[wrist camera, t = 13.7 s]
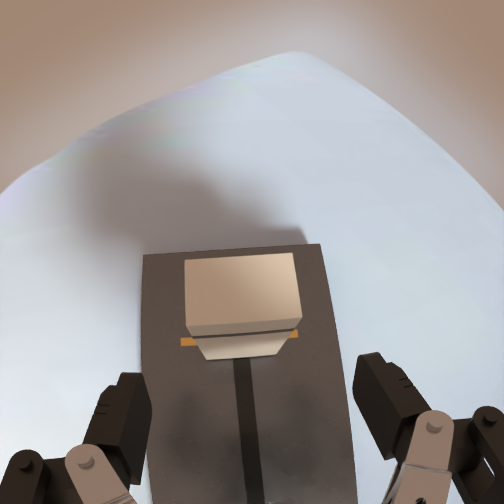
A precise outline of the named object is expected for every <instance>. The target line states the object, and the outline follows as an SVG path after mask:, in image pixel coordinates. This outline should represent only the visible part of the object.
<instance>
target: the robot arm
mask: <svg viewBox="0 0 504 504" xmlns="http://www.w3.org/2000/svg"><path fill="white" fill-rule="evenodd" d="M352 390H353V397H354V400H355V402H356V404H357V406H358V408H359V410H360V412H361V414H362V416H363V418H364V420H365V422H366V424H367V426H368V428H369V430H370V432H371V434H372V436H373V438H374V440H375V442H376V444H377V446H378V448H379V450H380V452H381V454H382V456H383V458H384V460H388V459H392V458H396V460H397V465H396V467H395V470H394V472H393V475H392V478H391V481H390V483H389V486H388V489H387V491H386V494H385V497H384V499H383V502H382V504H446V501H447V497H448V492H449V487H450V482H451V478H452V480H453V482H454V484H455V486H456V488H457V490H458V492H459V494H460V496H461V498H462V500H463V502H464V504H504V414H503V413H502V412H501V411H500V410H499V409H497V408H495V407H491V406H483V407H480V408H478V409H477V410H476V411H475V413H474V415H473V417H472V418H468V419H457V420H452V419H451V417H450V416H448V415H447V414H446V413H444V412H441V411H437V410H432V409H431V408H430V407H429V405H428V404H427V402H426V401H425V400H424V398H423V397H422V396H421V394H420V393H419V391H418V390H417V389H416V387H415V386H413V383H412V382H411V381H410V379H408V377H407V375H406V374H405V372H404V371H403V370H402V369H401V368H400V367H398V366H397V365H395V364H394V363H392V362H389V363H386V361H385V360H384V359H383V357H382V356H381V354H380V353H379V352H374V353H369V354H363V355H359V356H358V358H357V363H356V369H355V375H354V380H353V387H352ZM151 420H152V404H151V400H150V397H149V394H148V390H147V387H146V384H145V380H144V377H143V374H142V373H127V372H122V373H121V374H120V377H119V380H118V382H117V385H109V386H108V387H107V388H106V389H105V390H104V391H103V392H102V393H101V395H100V398H99V400H98V403H97V406H96V408H95V410H94V414H93V416H92V418H91V421H90V424H89V426H88V429H87V432H86V435H85V437H84V440H83V443H82V445H78V446H76V447H74V448H72V449H71V450H70V451H69V452H68V453H67V455H66V457H63V458H55V459H44V460H43V458H42V457H41V456H40V454H39V453H37V452H36V451H33V450H21V451H19V452H17V453H16V454H14V455H13V456H12V458H11V459H10V461H9V464H8V466H7V469H6V471H5V474H4V476H3V479H2V482H1V484H0V504H137V503H136V501H135V500H134V499H133V497H132V496H131V495H130V493H129V488H130V484H133V485H140V483H141V477H142V471H143V465H144V459H145V453H146V447H147V441H148V436H149V431H150V425H151ZM484 458H485V459H486V461H487V462H488V464H489V466H490V467H491V469H492V470H493V472H494V475H493V474H492V472H491V470H490V469H489V467H488V465H487V464H486V462H485V461H484ZM494 476H495V477H494Z"/></svg>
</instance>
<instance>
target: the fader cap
mask: <svg viewBox="0 0 504 504" xmlns="http://www.w3.org/2000/svg"><path fill="white" fill-rule="evenodd" d="M185 313H186V327H187V329H188V330H189V332H190V334H191V337H192V338H193V339H194V340H195V342H196V344H197V345H198V347H199V349H200V350H201V352H202V353H203V355H204V357H205V358H206V360H212V359H228V358H242V357H254V356H265V355H275V354H277V352H278V351H279V350H280V348H281V347H282V345H283V344H284V343H285V341H286V340H287V338H288V337H289V336H290V334H291V333H292V331H294V330H295V327H296V326H297V324H298V323H299V321H300V320H301V319H302V311H301V304H300V298H299V291H298V285H297V279H296V272H295V266H294V260H293V254H292V253H282V254H267V255H252V256H237V257H221V258H206V259H191V260H185Z"/></svg>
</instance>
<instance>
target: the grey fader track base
mask: <svg viewBox="0 0 504 504" xmlns="http://www.w3.org/2000/svg"><path fill="white" fill-rule="evenodd" d="M282 253H292V254H293V260H294V266H295V272H296V279H297V285H298V291H299V298H300V304H301V311H302V319H301V320H300V321H299V323H298V324H297V326H296V327H295V330H294V331H292V333H291V334H290V336H289V337H288V338H287V340H286V341H285V343H284V344H283V345H282V347H281V348H280V350H279V351H278V352H277V354H275V355H265V356H254V357H242V358H228V359H212V360H206V358H205V357H204V355H203V353H202V352H201V350H200V349H199V347H198V345H197V344H196V342H195V340H194V339H193V338H192V337H191V334H190V332H189V330H188V329H187V327H186V313H185V260H191V259H206V258H221V257H237V256H252V255H267V254H282ZM141 366H142V374H143V377H144V380H145V384H146V387H147V390H148V394H149V397H150V400H151V404H152V420H151V425H150V431H149V436H148V441H147V447H146V449H147V459H148V468H149V477H150V484H151V492H152V499H153V504H358V499H357V486H356V474H355V463H354V453H353V443H352V434H351V425H350V417H349V409H348V401H347V394H346V387H345V380H344V373H343V366H342V360H341V353H340V347H339V341H338V335H337V329H336V323H335V318H334V312H333V307H332V301H331V296H330V290H329V285H328V280H327V275H326V270H325V265H324V260H323V255H322V251H321V246H320V244H305V245H289V246H273V247H258V248H242V249H227V250H211V251H196V252H181V253H166V254H151V255H143V272H142V301H141Z"/></svg>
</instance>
